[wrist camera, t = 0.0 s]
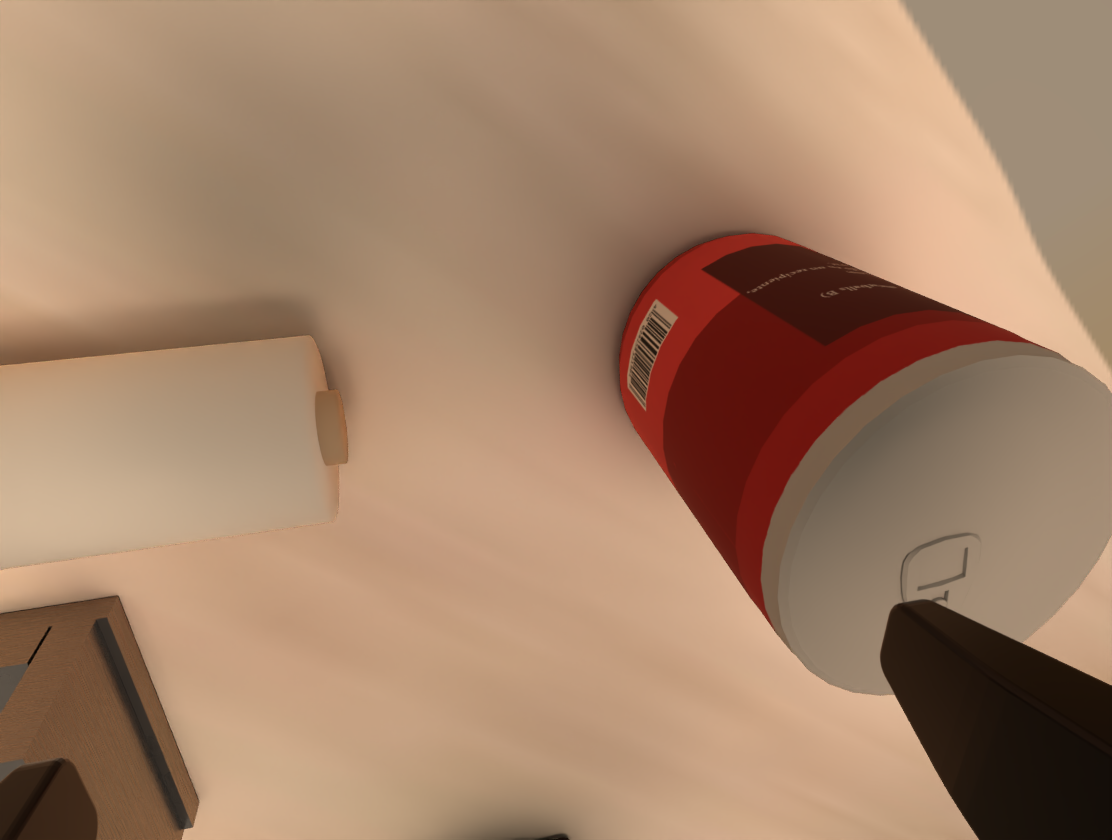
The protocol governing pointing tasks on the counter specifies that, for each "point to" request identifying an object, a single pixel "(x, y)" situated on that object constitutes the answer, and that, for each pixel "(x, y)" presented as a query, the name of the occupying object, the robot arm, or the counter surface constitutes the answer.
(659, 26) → the counter surface
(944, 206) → the counter surface
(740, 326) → the canned food
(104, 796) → the holder
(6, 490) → the roll
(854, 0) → the counter surface
